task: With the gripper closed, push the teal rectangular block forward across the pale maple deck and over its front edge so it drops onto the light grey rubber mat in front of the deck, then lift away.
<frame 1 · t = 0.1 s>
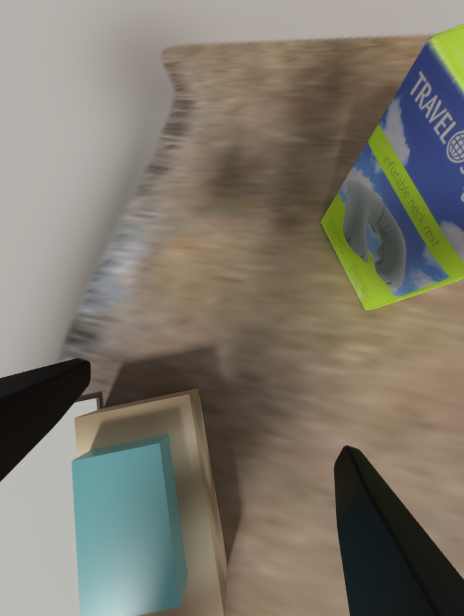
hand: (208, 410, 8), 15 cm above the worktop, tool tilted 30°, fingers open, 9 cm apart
teal rectangular block: (136, 510, 17), point 4 cm above the worktop, touching deck
mat: (56, 503, 21), on the worktop
box: (357, 260, 25), on the worktop
deck: (161, 481, 21), on the worktop
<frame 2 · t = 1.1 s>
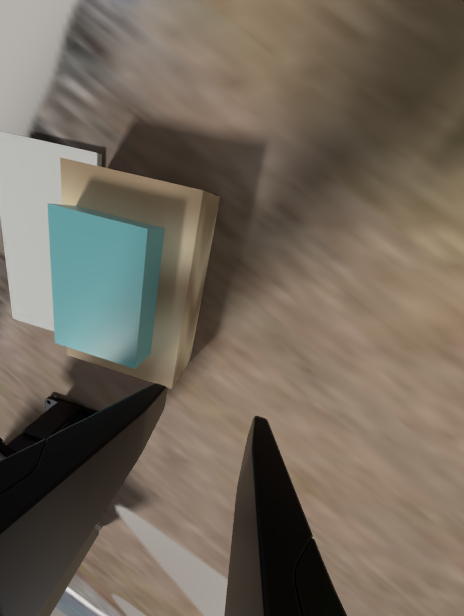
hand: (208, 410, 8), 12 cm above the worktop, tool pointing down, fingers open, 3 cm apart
teal rectangular block: (116, 285, 17), point 4 cm above the worktop, touching deck
mat: (53, 248, 21), on the worktop
laptop: (38, 500, 36), on the worktop
deck: (152, 275, 20), on the worktop
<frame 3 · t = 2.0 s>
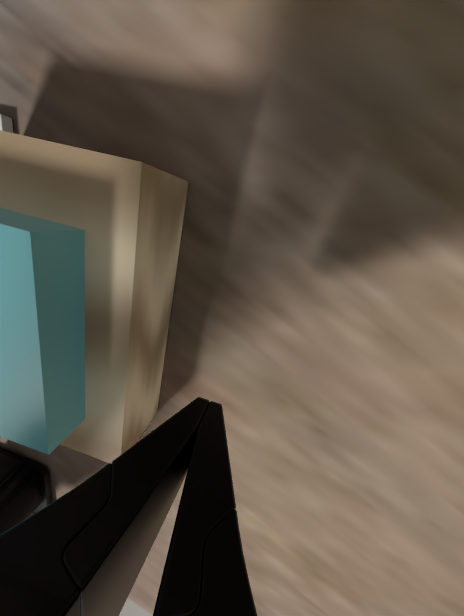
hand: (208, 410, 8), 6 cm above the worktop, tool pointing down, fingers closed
teal rectangular block: (23, 319, 11), point 4 cm above the worktop, touching deck
deck: (98, 296, 14), on the worktop
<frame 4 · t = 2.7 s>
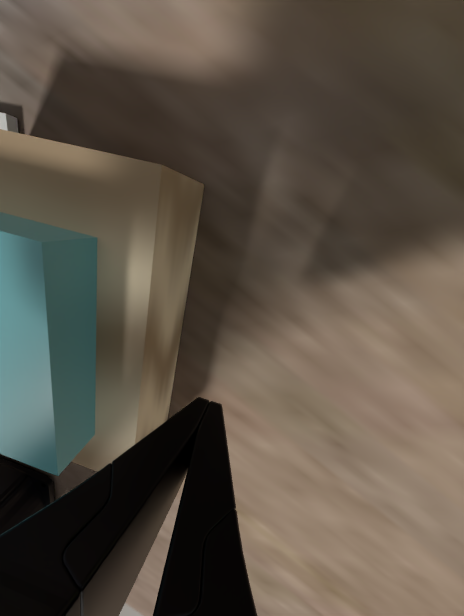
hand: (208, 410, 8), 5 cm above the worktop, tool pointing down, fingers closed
teal rectangular block: (30, 331, 10), point 4 cm above the worktop, touching deck
deck: (106, 304, 14), on the worktop
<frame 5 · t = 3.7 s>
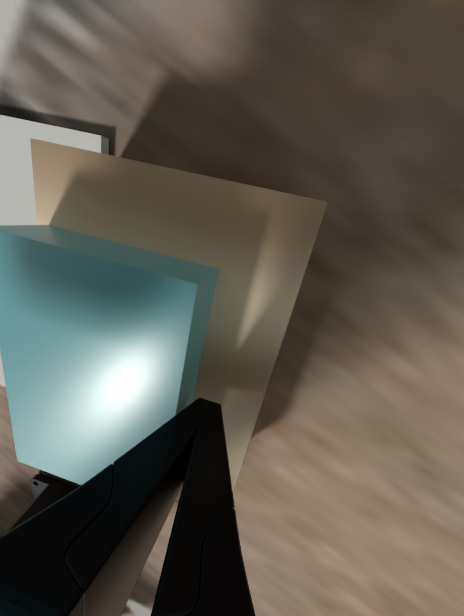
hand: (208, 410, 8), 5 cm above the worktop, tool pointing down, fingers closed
teal rectangular block: (123, 361, 10), point 4 cm above the worktop, touching gripper
mat: (34, 284, 14), on the worktop
deck: (186, 328, 13), on the worktop
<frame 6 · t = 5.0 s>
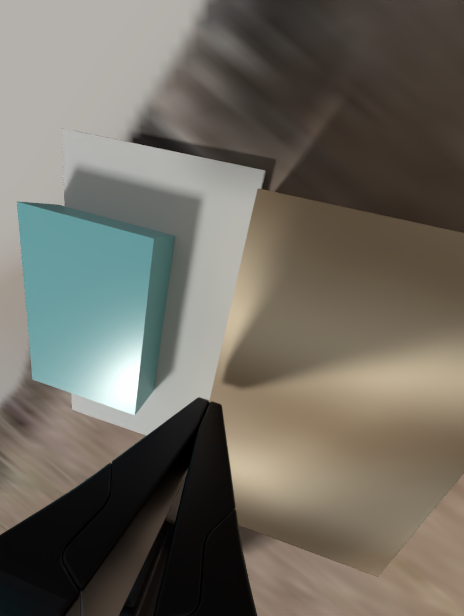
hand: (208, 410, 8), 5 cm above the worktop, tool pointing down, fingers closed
teal rectangular block: (82, 321, 11), point 2 cm above the worktop, tilted 180°, touching mat
mat: (148, 317, 13), on the worktop
deck: (317, 366, 12), on the worktop
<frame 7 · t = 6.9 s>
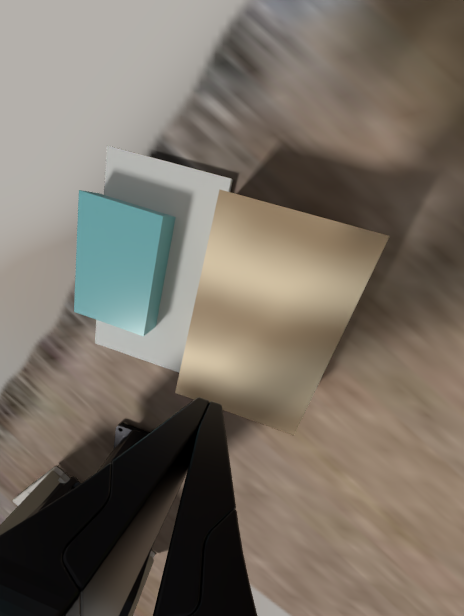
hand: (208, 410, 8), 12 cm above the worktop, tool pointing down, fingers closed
teal rectangular block: (113, 269, 17), point 2 cm above the worktop, tilted 180°, touching mat
mat: (154, 273, 20), on the worktop
laptop: (86, 520, 34), on the worktop
deck: (265, 308, 19), on the worktop
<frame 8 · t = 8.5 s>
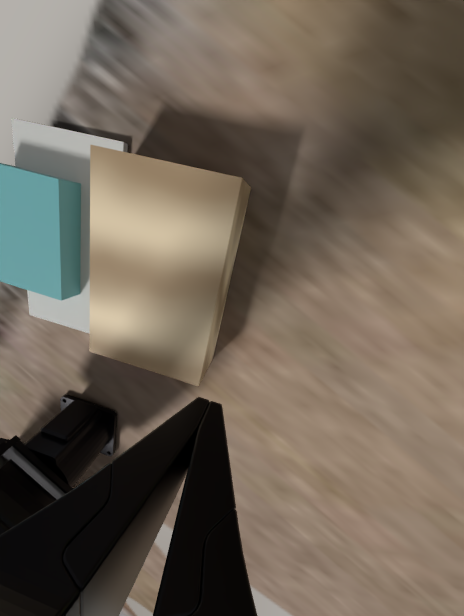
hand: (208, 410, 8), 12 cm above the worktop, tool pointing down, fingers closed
teal rectangular block: (24, 235, 18), point 2 cm above the worktop, tilted 180°, touching mat
mat: (73, 242, 21), on the worktop
deck: (176, 269, 20), on the worktop
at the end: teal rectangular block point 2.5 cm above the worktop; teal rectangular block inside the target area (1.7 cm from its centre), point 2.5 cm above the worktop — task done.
